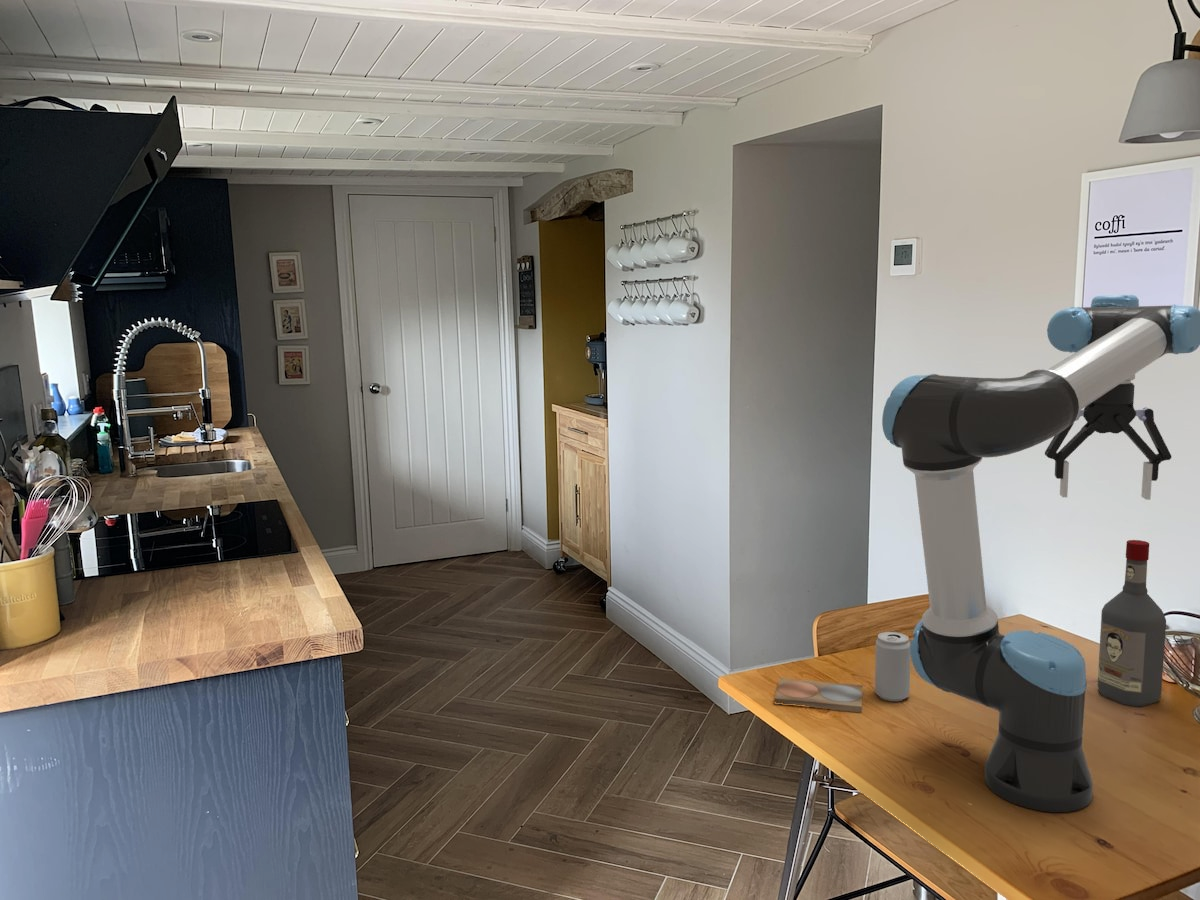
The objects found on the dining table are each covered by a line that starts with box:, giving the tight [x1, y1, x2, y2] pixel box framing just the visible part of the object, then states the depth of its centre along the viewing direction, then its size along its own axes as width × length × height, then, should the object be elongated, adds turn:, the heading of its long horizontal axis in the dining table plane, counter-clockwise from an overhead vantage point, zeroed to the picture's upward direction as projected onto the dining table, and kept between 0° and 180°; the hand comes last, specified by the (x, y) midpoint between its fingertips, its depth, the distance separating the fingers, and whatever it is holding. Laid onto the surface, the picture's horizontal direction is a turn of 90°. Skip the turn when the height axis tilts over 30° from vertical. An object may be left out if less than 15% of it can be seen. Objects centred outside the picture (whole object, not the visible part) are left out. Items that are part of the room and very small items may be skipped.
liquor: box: [1097, 539, 1167, 708], centre depth 171 cm, size 9×9×30 cm
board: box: [774, 677, 864, 714], centre depth 176 cm, size 10×16×1 cm, turn 73°
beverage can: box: [874, 631, 911, 702], centre depth 175 cm, size 6×6×12 cm
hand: (1104, 497), depth 168 cm, fingers open, 13 cm apart
